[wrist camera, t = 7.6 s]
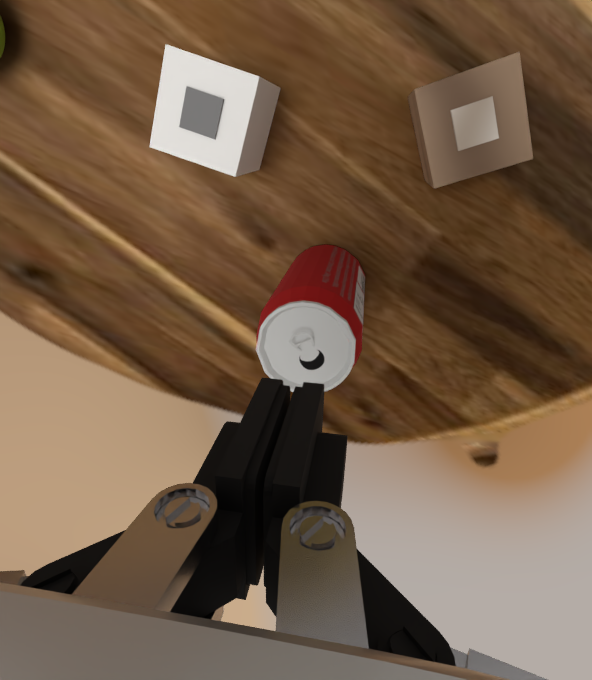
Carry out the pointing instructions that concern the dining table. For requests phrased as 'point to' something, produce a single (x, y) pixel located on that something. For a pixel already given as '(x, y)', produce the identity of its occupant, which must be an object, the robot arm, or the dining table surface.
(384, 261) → the dining table surface
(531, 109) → the dining table surface
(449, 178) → the walnut block
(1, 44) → the snail figurine
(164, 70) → the white block
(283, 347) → the soda can
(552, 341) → the dining table surface
